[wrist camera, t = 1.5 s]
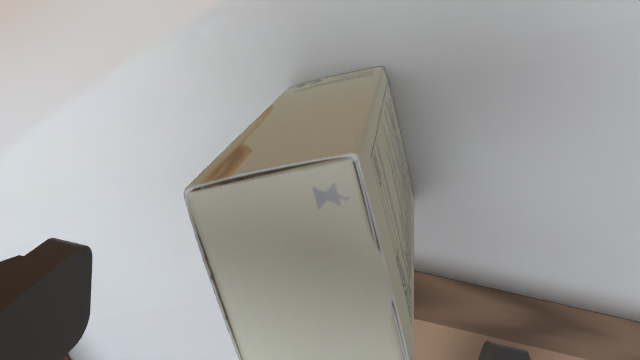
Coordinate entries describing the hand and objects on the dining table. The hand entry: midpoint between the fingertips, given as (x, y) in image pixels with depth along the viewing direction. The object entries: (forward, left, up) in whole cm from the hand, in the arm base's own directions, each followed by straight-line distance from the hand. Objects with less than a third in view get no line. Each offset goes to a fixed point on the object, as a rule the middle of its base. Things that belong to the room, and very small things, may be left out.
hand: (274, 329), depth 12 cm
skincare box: (0, 0, -15) cm, 15 cm away
